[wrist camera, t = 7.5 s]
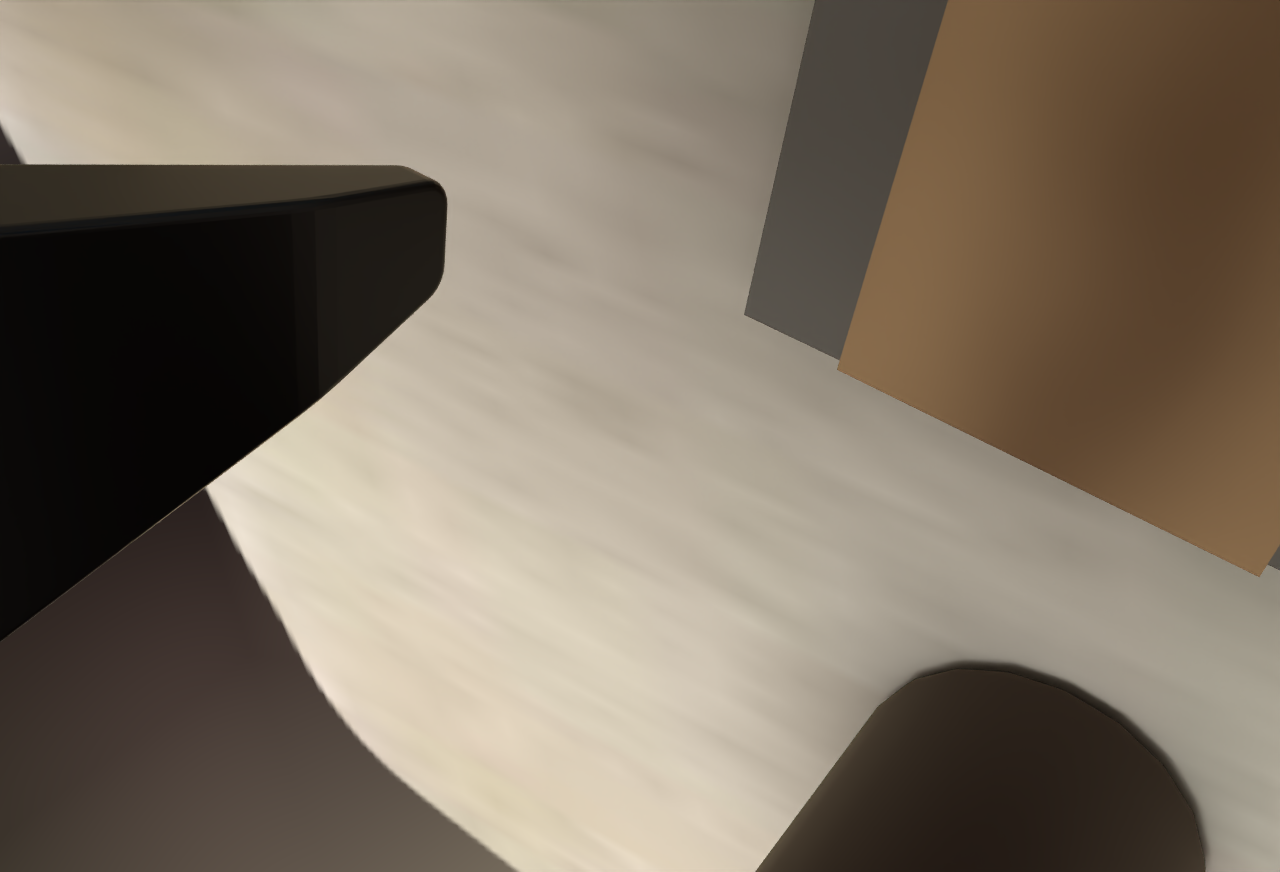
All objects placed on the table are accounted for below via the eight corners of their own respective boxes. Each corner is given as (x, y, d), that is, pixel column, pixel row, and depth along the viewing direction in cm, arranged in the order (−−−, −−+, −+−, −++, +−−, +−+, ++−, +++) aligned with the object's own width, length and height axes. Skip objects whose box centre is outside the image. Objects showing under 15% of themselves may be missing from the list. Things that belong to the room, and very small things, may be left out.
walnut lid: (892, 322, 20) (836, 369, 19) (1127, -401, 14) (1071, -411, 13) (1288, 506, 18) (1259, 577, 16) (1779, -275, 12) (1799, -270, 10)
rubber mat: (766, 298, 22) (743, 314, 22) (960, -521, 15) (934, -529, 15) (1464, 624, 18) (1459, 655, 17) (2220, -334, 11) (2252, -337, 10)
